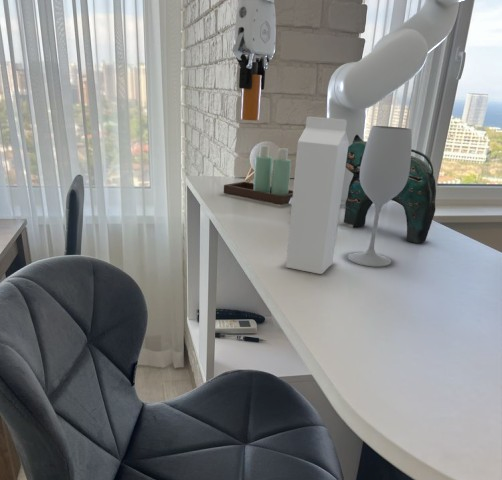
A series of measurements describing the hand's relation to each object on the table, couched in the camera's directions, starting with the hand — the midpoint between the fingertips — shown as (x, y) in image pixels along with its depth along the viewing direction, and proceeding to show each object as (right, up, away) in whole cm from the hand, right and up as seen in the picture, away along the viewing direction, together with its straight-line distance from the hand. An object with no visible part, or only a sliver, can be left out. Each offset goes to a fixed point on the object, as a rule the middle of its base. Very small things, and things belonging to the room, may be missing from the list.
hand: (251, 88), depth 116 cm
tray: (+2, -22, +12) cm, 25 cm away
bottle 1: (+2, -22, +11) cm, 25 cm away
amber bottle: (0, -6, +3) cm, 7 cm away
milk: (+9, -46, -35) cm, 58 cm away
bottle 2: (+7, -23, +9) cm, 26 cm away
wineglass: (+20, -44, -30) cm, 57 cm away
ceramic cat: (+27, -36, -12) cm, 46 cm away
